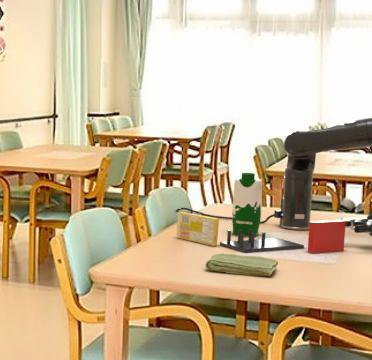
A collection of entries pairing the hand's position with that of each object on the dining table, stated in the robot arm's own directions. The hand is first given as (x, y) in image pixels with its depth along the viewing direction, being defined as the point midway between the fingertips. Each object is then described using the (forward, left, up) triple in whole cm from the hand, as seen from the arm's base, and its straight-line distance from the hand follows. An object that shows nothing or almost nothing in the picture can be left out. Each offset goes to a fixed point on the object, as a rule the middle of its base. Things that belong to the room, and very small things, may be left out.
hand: (344, 226), depth 275 cm
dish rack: (-12, -21, -7) cm, 25 cm away
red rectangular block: (0, -7, -7) cm, 10 cm away
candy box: (-25, -35, -7) cm, 44 cm away
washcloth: (+13, -48, -7) cm, 50 cm away
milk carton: (-31, -12, -7) cm, 34 cm away
